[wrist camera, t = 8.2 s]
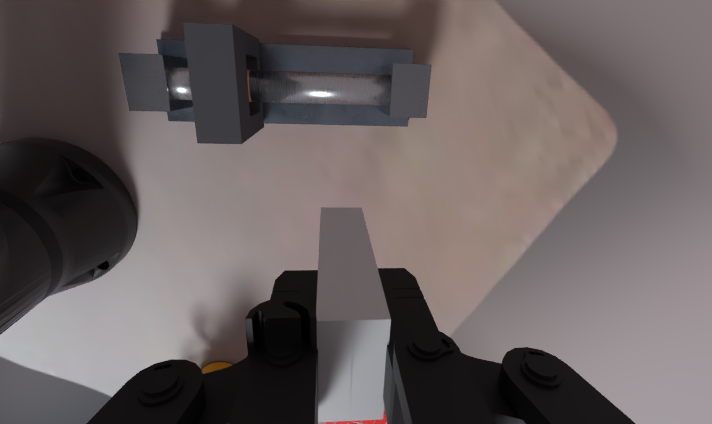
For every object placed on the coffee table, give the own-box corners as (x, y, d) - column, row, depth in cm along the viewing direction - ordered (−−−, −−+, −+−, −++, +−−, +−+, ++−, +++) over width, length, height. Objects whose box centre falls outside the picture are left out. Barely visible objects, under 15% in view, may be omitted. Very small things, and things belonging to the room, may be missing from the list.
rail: (172, 120, 34) (133, 130, 28) (160, 40, 32) (114, 29, 25) (406, 125, 36) (424, 136, 29) (411, 50, 34) (433, 43, 27)
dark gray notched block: (231, 126, 34) (197, 143, 25) (223, 38, 31) (182, 22, 22) (264, 126, 34) (241, 144, 25) (259, 39, 31) (231, 24, 22)
